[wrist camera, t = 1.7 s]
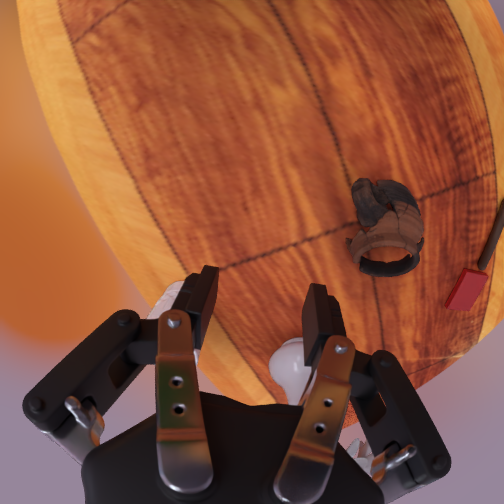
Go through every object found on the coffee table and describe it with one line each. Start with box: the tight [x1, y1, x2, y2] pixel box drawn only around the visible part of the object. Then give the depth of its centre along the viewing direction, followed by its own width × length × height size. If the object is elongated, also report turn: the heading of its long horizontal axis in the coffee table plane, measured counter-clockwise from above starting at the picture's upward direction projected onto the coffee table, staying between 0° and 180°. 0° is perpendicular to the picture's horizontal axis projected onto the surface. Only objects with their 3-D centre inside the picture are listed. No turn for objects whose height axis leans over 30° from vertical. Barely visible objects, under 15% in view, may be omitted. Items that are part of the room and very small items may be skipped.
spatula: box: [445, 200, 504, 311], centre depth 28 cm, size 19×6×2 cm, turn 172°
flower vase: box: [268, 337, 374, 476], centre depth 29 cm, size 13×18×25 cm
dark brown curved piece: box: [346, 178, 424, 277], centre depth 26 cm, size 12×10×8 cm
